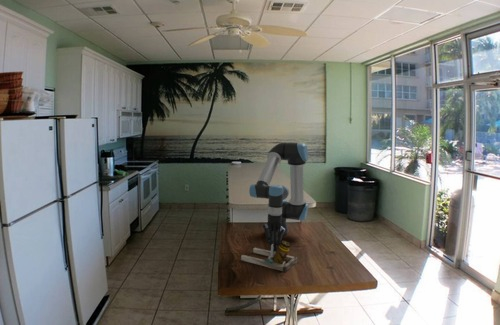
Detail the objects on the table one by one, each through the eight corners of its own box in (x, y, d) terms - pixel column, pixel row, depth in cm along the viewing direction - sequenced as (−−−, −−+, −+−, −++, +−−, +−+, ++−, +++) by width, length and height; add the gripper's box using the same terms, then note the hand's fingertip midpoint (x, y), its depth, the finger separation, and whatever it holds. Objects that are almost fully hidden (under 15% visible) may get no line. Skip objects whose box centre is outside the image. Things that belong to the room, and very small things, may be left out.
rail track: (254, 251, 189) (255, 246, 189) (297, 261, 176) (297, 256, 175) (241, 260, 176) (241, 254, 176) (285, 272, 163) (285, 265, 162)
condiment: (280, 267, 168) (289, 248, 165) (267, 258, 172) (275, 240, 168) (285, 262, 175) (293, 244, 172) (272, 254, 178) (280, 236, 175)
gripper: (261, 213, 172) (259, 255, 174) (282, 217, 165) (280, 261, 167) (267, 210, 178) (265, 251, 180) (288, 214, 171) (286, 257, 174)
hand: (272, 256), depth 174 cm, fingers closed
